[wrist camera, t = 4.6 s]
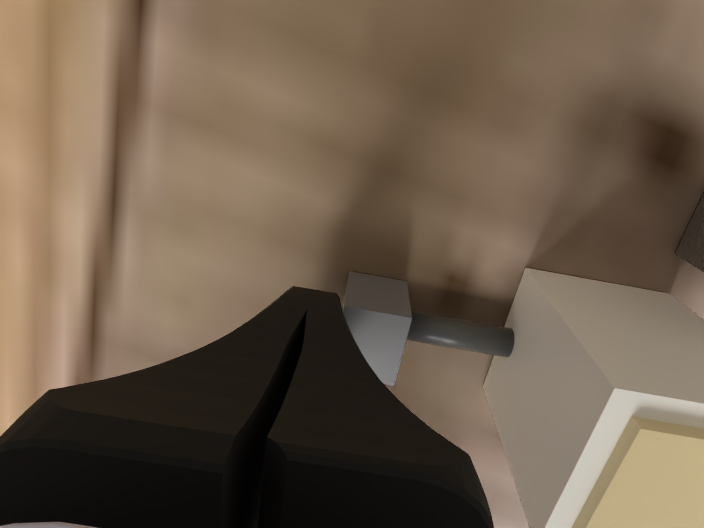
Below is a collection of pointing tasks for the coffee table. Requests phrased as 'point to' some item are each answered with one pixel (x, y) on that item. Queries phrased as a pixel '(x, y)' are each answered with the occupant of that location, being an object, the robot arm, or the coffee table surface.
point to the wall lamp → (572, 393)
